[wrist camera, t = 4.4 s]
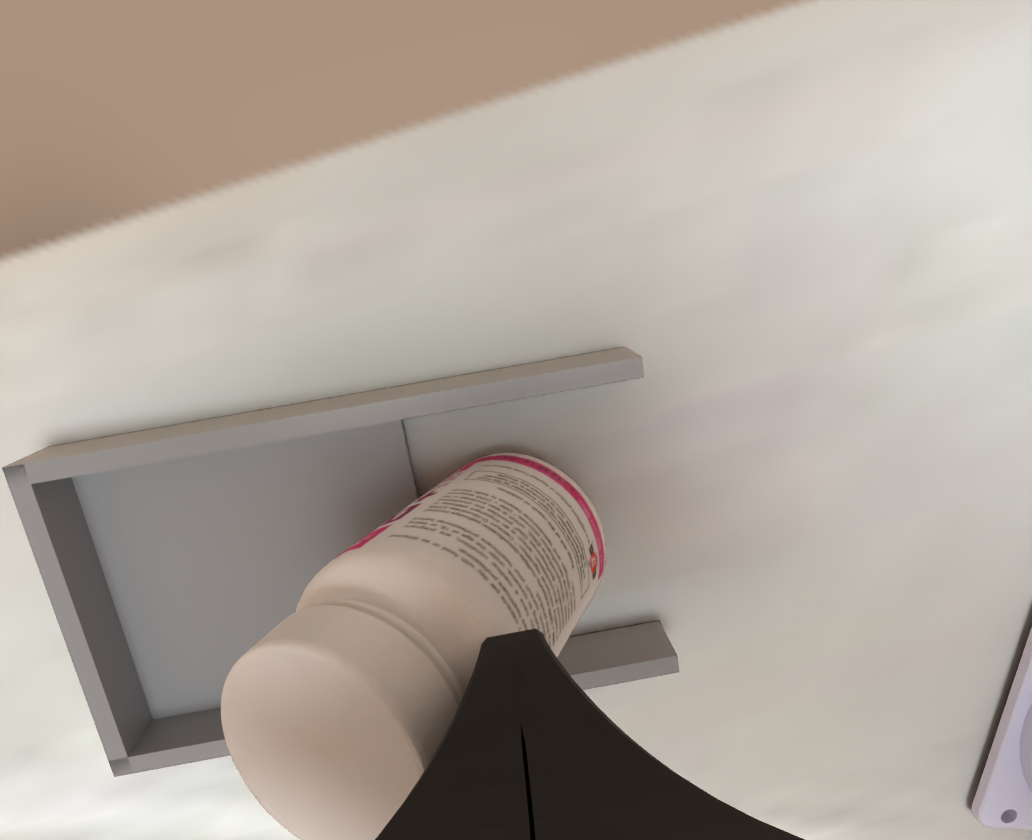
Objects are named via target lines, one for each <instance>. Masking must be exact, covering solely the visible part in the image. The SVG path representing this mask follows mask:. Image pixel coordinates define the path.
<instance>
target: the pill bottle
mask: <svg viewBox="0 0 1032 840" xmlns="http://www.w3.org/2000/svg"><path fill="white" fill-rule="evenodd" d="M605 561H606V545H605V537H604V531H603V528H602V524H601V521H600V519H599V516H598V514H597V511H596V509H595V507H594V506H593V504H592V502H591V501H590V500H589V498H588V497H587V495H586V494H585V493H584V492H583V490H582V489H581V488H580V487H579V486H578V485H577V484H576V483H575V482H574V481H573V480H572V479H571V478H569V477H568V476H567V475H566V474H564V473H563V472H562V471H560V470H559V469H557V468H556V467H554V466H552V465H550V464H549V463H547V462H545V461H542V460H540V459H538V458H535V457H532V456H528V455H524V454H518V453H496V454H491V455H486V456H483V457H480V458H478V459H475V460H473V461H471V462H469V463H468V464H466V465H464V466H463V467H461V468H460V469H458V470H457V471H455V472H454V473H453V474H452V475H450V476H449V477H448V478H446V479H445V480H443V481H442V482H441V483H439V484H438V485H437V486H435V487H434V488H432V489H431V490H430V491H428V492H427V493H426V494H424V495H423V496H421V497H420V498H418V499H417V500H415V501H414V502H413V503H411V504H410V505H409V506H407V507H406V508H405V509H403V510H402V511H401V512H399V513H398V514H396V515H395V516H392V517H391V518H390V519H389V520H388V521H386V522H385V523H383V524H382V525H381V526H379V527H378V528H377V529H375V530H374V531H373V532H371V533H370V534H368V535H367V536H365V537H364V538H362V539H361V540H359V541H358V542H357V543H356V544H354V545H352V546H351V547H349V548H348V549H347V550H345V551H344V552H342V553H341V554H339V555H338V556H337V557H336V558H334V559H333V560H332V561H331V562H329V563H328V564H327V565H326V566H325V567H324V568H322V569H321V570H320V571H319V572H318V573H317V574H316V575H315V576H314V577H313V579H312V580H311V581H310V583H309V584H308V585H307V587H306V588H305V590H304V592H303V594H302V596H301V598H300V601H299V603H298V605H297V608H296V612H295V613H293V614H291V615H290V616H288V617H287V618H286V619H284V620H283V621H282V622H281V623H279V624H278V625H277V626H276V627H275V628H274V629H273V630H271V631H270V632H269V633H268V634H267V635H266V636H264V637H263V638H262V639H261V640H260V641H259V642H257V643H256V644H255V645H254V646H253V647H252V648H250V649H249V650H248V651H247V652H246V653H245V654H243V655H242V656H241V657H240V658H239V659H238V660H237V662H236V663H235V664H234V665H233V667H232V669H231V670H230V672H229V674H228V676H227V678H226V681H225V684H224V687H223V691H222V697H221V721H222V728H223V733H224V736H225V740H226V743H227V746H228V749H229V752H230V754H231V757H232V760H233V762H234V764H235V766H236V768H237V770H238V771H239V773H240V775H241V777H242V778H243V780H244V782H245V784H246V785H247V787H248V788H249V790H250V791H251V793H252V794H253V795H254V797H255V798H256V799H257V800H258V802H259V803H260V804H261V805H262V806H263V808H264V809H265V810H266V811H267V812H268V813H269V814H270V815H271V816H272V817H273V818H274V819H275V820H276V821H277V822H278V823H280V824H281V825H282V826H283V827H284V828H285V829H287V830H288V831H289V832H290V833H292V834H293V835H294V836H296V837H297V838H299V839H300V840H375V839H376V838H377V836H378V835H379V834H380V833H381V831H382V830H383V829H384V827H385V826H386V825H387V823H388V822H389V821H390V820H391V818H392V817H393V816H394V814H395V813H396V812H397V810H398V809H399V808H400V806H401V805H402V804H403V802H404V801H405V799H406V798H407V796H408V795H409V793H410V792H411V791H412V789H413V788H414V786H415V785H416V783H417V782H418V780H419V779H420V777H421V775H422V774H423V772H424V771H425V769H426V767H427V766H428V764H429V762H430V761H431V759H432V757H433V756H434V754H435V752H436V750H437V748H438V746H439V744H440V743H441V741H442V739H443V737H444V735H445V733H446V731H447V729H448V728H449V726H450V724H451V722H452V720H453V718H454V716H455V714H456V711H457V709H458V707H459V705H460V702H461V700H462V698H463V696H464V693H465V691H466V689H467V686H468V684H469V681H470V679H471V676H472V673H473V671H474V668H475V665H476V662H477V659H478V655H479V652H480V648H481V644H482V643H483V642H484V640H485V639H486V638H487V637H493V636H498V635H503V634H508V633H514V632H519V631H524V630H530V629H535V628H536V629H538V630H539V631H540V632H542V633H543V634H544V637H545V639H546V641H547V643H548V645H549V646H550V648H551V650H552V651H553V653H554V654H555V656H556V657H558V655H559V653H560V652H561V650H562V648H563V646H564V645H565V643H566V641H567V640H568V638H569V636H570V634H571V632H572V631H573V629H574V627H575V626H576V624H577V622H578V621H579V619H580V617H581V616H582V614H583V612H584V611H585V609H586V608H587V606H588V605H589V603H590V602H591V599H592V597H593V595H594V594H595V592H596V590H597V588H598V586H599V583H600V581H601V578H602V576H603V571H604V567H605Z"/></svg>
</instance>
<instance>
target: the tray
mask: <svg viewBox="0 0 1032 840" xmlns="http://www.w3.org/2000/svg"><path fill="white" fill-rule="evenodd" d="M643 377H644V375H643V367H642V358H641V356H639V355H637V354H636V353H634V352H632V351H631V350H629V349H627V348H626V347H621V348H615V349H609V350H604V351H598V352H592V353H586V354H581V355H575V356H569V357H563V358H558V359H552V360H546V361H540V362H534V363H529V364H523V365H517V366H511V367H506V368H500V369H494V370H488V371H482V372H477V373H471V374H465V375H459V376H454V377H448V378H442V379H436V380H430V381H425V382H419V383H413V384H407V385H402V386H396V387H390V388H384V389H378V390H373V391H367V392H361V393H355V394H350V395H344V396H338V397H332V398H327V399H321V400H315V401H309V402H303V403H298V404H292V405H286V406H280V407H275V408H269V409H263V410H257V411H251V412H246V413H240V414H234V415H228V416H223V417H217V418H211V419H205V420H199V421H194V422H188V423H182V424H176V425H171V426H165V427H159V428H153V429H147V430H142V431H136V432H130V433H124V434H119V435H113V436H107V437H101V438H96V439H90V440H84V441H78V442H72V443H67V444H61V445H55V446H49V447H46V448H44V449H42V450H40V451H38V452H35V453H33V454H31V455H29V456H27V457H25V458H22V459H20V460H18V461H16V462H14V463H11V464H9V465H7V466H5V467H3V468H2V469H3V472H4V474H5V477H6V480H7V483H8V485H9V488H10V491H11V494H12V496H13V499H14V502H15V505H16V507H17V510H18V513H19V516H20V518H21V521H22V524H23V527H24V529H25V532H26V535H27V538H28V541H29V543H30V546H31V549H32V552H33V554H34V557H35V560H36V563H37V565H38V568H39V571H40V574H41V576H42V579H43V582H44V585H45V587H46V590H47V593H48V596H49V598H50V601H51V604H52V607H53V609H54V612H55V615H56V618H57V620H58V623H59V626H60V629H61V631H62V634H63V637H64V640H65V642H66V645H67V648H68V651H69V653H70V656H71V659H72V662H73V665H74V667H75V670H76V673H77V676H78V678H79V681H80V684H81V687H82V689H83V692H84V695H85V698H86V700H87V703H88V706H89V709H90V711H91V714H92V717H93V720H94V722H95V725H96V728H97V731H98V733H99V736H100V739H101V742H102V744H103V747H104V750H105V753H106V755H107V758H108V761H109V764H110V766H111V769H112V772H113V775H114V777H116V776H122V775H127V774H132V773H138V772H143V771H148V770H154V769H159V768H165V767H170V766H175V765H181V764H186V763H192V762H197V761H202V760H208V759H213V758H219V757H224V756H229V755H231V754H230V752H229V749H228V746H227V743H226V740H225V736H224V733H223V728H222V721H221V697H222V691H223V687H224V684H225V681H226V678H227V676H228V674H229V672H230V670H231V669H232V667H233V665H234V664H235V663H236V662H237V660H238V659H239V658H240V657H241V656H242V655H243V654H245V653H246V652H247V651H248V650H249V649H250V648H252V647H253V646H254V645H255V644H256V643H257V642H259V641H260V640H261V639H262V638H263V637H264V636H266V635H267V634H268V633H269V632H270V631H271V630H273V629H274V628H275V627H276V626H277V625H278V624H279V623H281V622H282V621H283V620H284V619H286V618H287V617H288V616H290V615H291V614H293V613H295V612H296V608H297V605H298V603H299V601H300V598H301V596H302V594H303V592H304V590H305V588H306V587H307V585H308V584H309V583H310V581H311V580H312V579H313V577H314V576H315V575H316V574H317V573H318V572H319V571H320V570H321V569H322V568H324V567H325V566H326V565H327V564H328V563H329V562H331V561H332V560H333V559H334V558H336V557H337V556H338V555H339V554H341V553H342V552H344V551H345V550H347V549H348V548H349V547H351V546H352V545H354V544H356V543H357V542H358V541H359V540H361V539H362V538H364V537H365V536H367V535H368V534H370V533H371V532H373V531H374V530H375V529H377V528H378V527H379V526H381V525H382V524H383V523H385V522H386V521H388V520H389V519H390V518H391V517H392V516H395V515H396V514H398V513H399V512H401V511H402V510H403V509H405V508H406V507H407V506H409V505H410V504H411V503H413V502H414V501H415V500H417V499H418V495H417V490H416V485H415V481H414V476H413V471H412V466H411V462H410V457H409V452H408V447H407V443H406V438H405V433H404V428H403V424H402V419H408V418H413V417H419V416H425V415H431V414H436V413H442V412H448V411H453V410H459V409H465V408H471V407H476V406H482V405H488V404H494V403H499V402H505V401H511V400H517V399H522V398H528V397H534V396H539V395H545V394H551V393H557V392H562V391H568V390H574V389H580V388H585V387H591V386H597V385H603V384H608V383H614V382H620V381H625V380H631V379H637V378H643ZM557 659H558V660H559V661H560V663H561V664H562V666H563V667H564V668H565V670H566V671H567V672H568V673H569V675H570V676H571V677H572V678H573V680H574V681H575V682H576V683H577V684H578V685H579V687H580V688H581V689H582V690H585V689H591V688H596V687H602V686H607V685H612V684H618V683H623V682H629V681H634V680H639V679H645V678H650V677H655V676H661V675H666V674H672V673H677V672H679V666H678V658H677V654H676V652H675V650H674V648H673V647H672V645H671V643H670V641H669V639H668V637H667V635H666V633H665V631H664V629H663V627H662V625H661V623H660V621H655V622H650V623H644V624H639V625H633V626H628V627H622V628H617V629H611V630H606V631H600V632H595V633H590V634H584V635H579V636H573V637H569V638H568V640H567V641H566V643H565V645H564V646H563V648H562V650H561V652H560V653H559V655H558V657H557Z"/></svg>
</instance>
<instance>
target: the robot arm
mask: <svg viewBox="0 0 1032 840" xmlns="http://www.w3.org/2000/svg"><path fill="white" fill-rule="evenodd" d="M971 811H972V814H973V816H974V817H975V818H976V819H977V820H978V821H979V822H980V823H981V824H982V825H983V826H986V827H993V828H1009V829H1025V830H1032V627H1031V630H1030V633H1029V636H1028V639H1027V642H1026V645H1025V648H1024V651H1023V654H1022V657H1021V660H1020V663H1019V666H1018V669H1017V672H1016V675H1015V678H1014V681H1013V684H1012V687H1011V690H1010V693H1009V696H1008V699H1007V702H1006V705H1005V708H1004V711H1003V714H1002V717H1001V720H1000V723H999V726H998V729H997V732H996V735H995V738H994V741H993V744H992V747H991V750H990V753H989V756H988V759H987V762H986V765H985V768H984V771H983V774H982V777H981V780H980V783H979V786H978V789H977V792H976V795H975V798H974V801H973V804H972V809H971ZM375 840H804V839H802V838H800V837H797V836H795V835H792V834H790V833H788V832H785V831H783V830H781V829H778V828H776V827H773V826H771V825H769V824H766V823H764V822H762V821H759V820H757V819H755V818H753V817H751V816H749V815H747V814H745V813H743V812H741V811H739V810H737V809H735V808H733V807H732V806H730V805H728V804H726V803H724V802H722V801H720V800H718V799H716V798H715V797H713V796H711V795H710V794H708V793H707V792H705V791H703V790H702V789H700V788H699V787H697V786H695V785H694V784H692V783H691V782H689V781H687V780H686V779H684V778H683V777H681V776H679V775H678V774H676V773H675V772H673V771H672V770H671V769H669V768H668V767H667V766H665V765H664V764H663V763H661V762H660V761H659V760H657V759H656V758H654V757H653V756H652V755H651V754H649V753H648V752H647V751H646V750H644V749H643V748H642V747H641V746H639V745H638V744H637V743H636V742H635V741H633V740H632V739H631V738H630V737H629V736H628V735H626V734H625V733H624V732H623V731H622V730H621V729H620V728H619V727H618V726H617V725H616V724H614V723H613V722H612V721H611V720H610V719H609V718H608V717H607V716H606V715H605V714H604V713H603V712H602V711H601V710H600V709H599V708H598V707H597V706H596V704H595V703H594V702H593V701H592V700H591V699H590V698H589V697H588V696H587V695H586V694H585V692H584V691H583V690H582V689H581V688H580V687H579V685H578V684H577V683H576V682H575V681H574V680H573V678H572V677H571V676H570V675H569V673H568V672H567V671H566V670H565V668H564V667H563V666H562V664H561V663H560V661H559V660H558V659H557V657H556V656H555V654H554V653H553V651H552V650H551V648H550V646H549V645H548V643H547V641H546V639H545V637H544V634H543V633H542V632H540V631H539V630H538V629H536V628H535V629H530V630H524V631H519V632H514V633H508V634H503V635H498V636H493V637H487V638H486V639H485V640H484V642H483V643H482V644H481V648H480V652H479V655H478V659H477V662H476V665H475V668H474V671H473V673H472V676H471V679H470V681H469V684H468V686H467V689H466V691H465V693H464V696H463V698H462V700H461V702H460V705H459V707H458V709H457V711H456V714H455V716H454V718H453V720H452V722H451V724H450V726H449V728H448V729H447V731H446V733H445V735H444V737H443V739H442V741H441V743H440V744H439V746H438V748H437V750H436V752H435V754H434V756H433V757H432V759H431V761H430V762H429V764H428V766H427V767H426V769H425V771H424V772H423V774H422V775H421V777H420V779H419V780H418V782H417V783H416V785H415V786H414V788H413V789H412V791H411V792H410V793H409V795H408V796H407V798H406V799H405V801H404V802H403V804H402V805H401V806H400V808H399V809H398V810H397V812H396V813H395V814H394V816H393V817H392V818H391V820H390V821H389V822H388V823H387V825H386V826H385V827H384V829H383V830H382V831H381V833H380V834H379V835H378V836H377V838H376V839H375Z"/></svg>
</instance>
